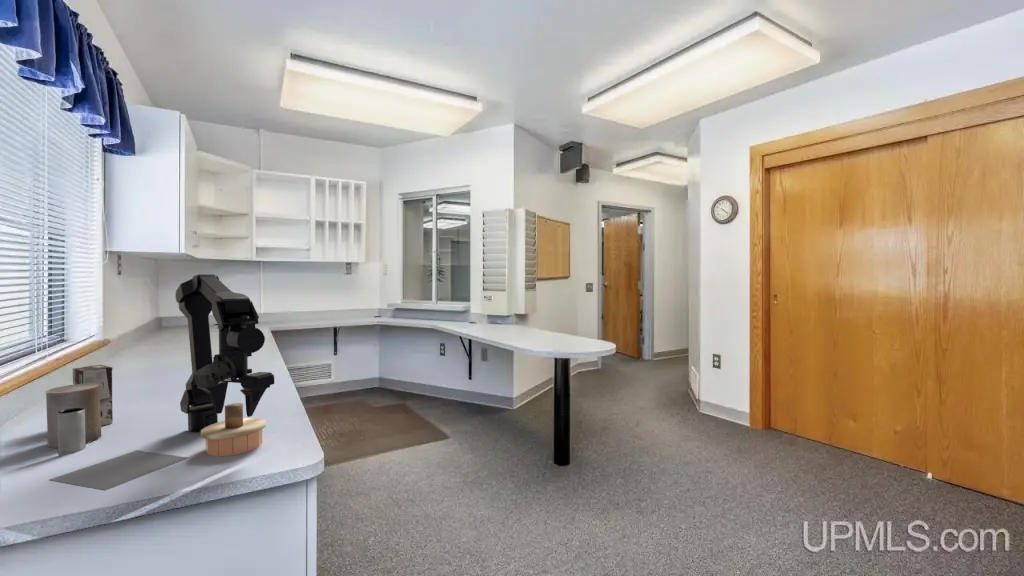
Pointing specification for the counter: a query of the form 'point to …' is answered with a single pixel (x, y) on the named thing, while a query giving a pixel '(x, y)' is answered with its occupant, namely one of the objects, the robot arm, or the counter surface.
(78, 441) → the planter
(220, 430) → the lid
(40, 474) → the counter surface
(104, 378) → the coffee box
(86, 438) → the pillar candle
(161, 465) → the mat
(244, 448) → the bowl
